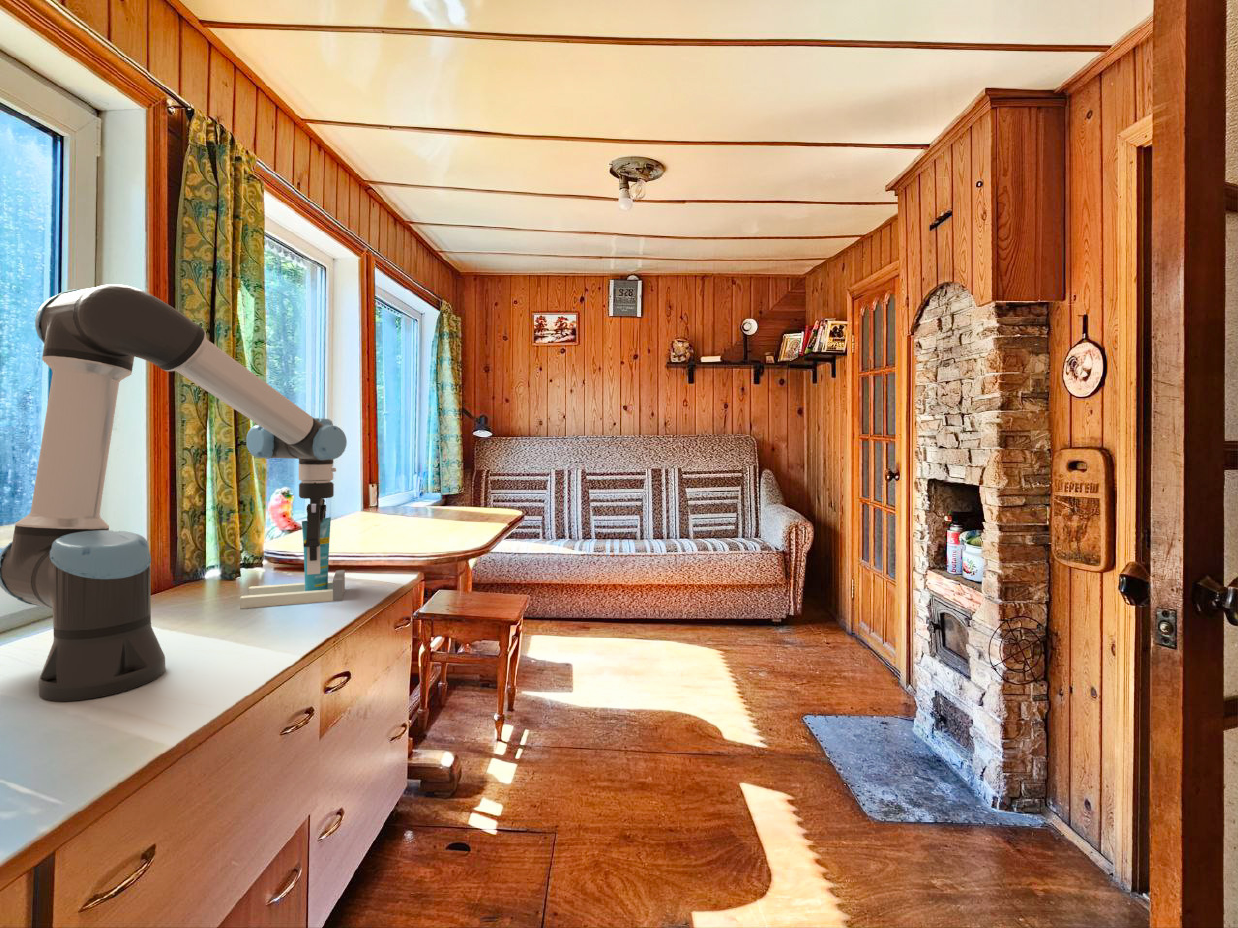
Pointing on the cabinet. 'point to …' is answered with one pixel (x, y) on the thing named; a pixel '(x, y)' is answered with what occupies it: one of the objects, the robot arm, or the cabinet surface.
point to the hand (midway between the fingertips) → (316, 568)
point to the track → (293, 593)
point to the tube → (321, 579)
